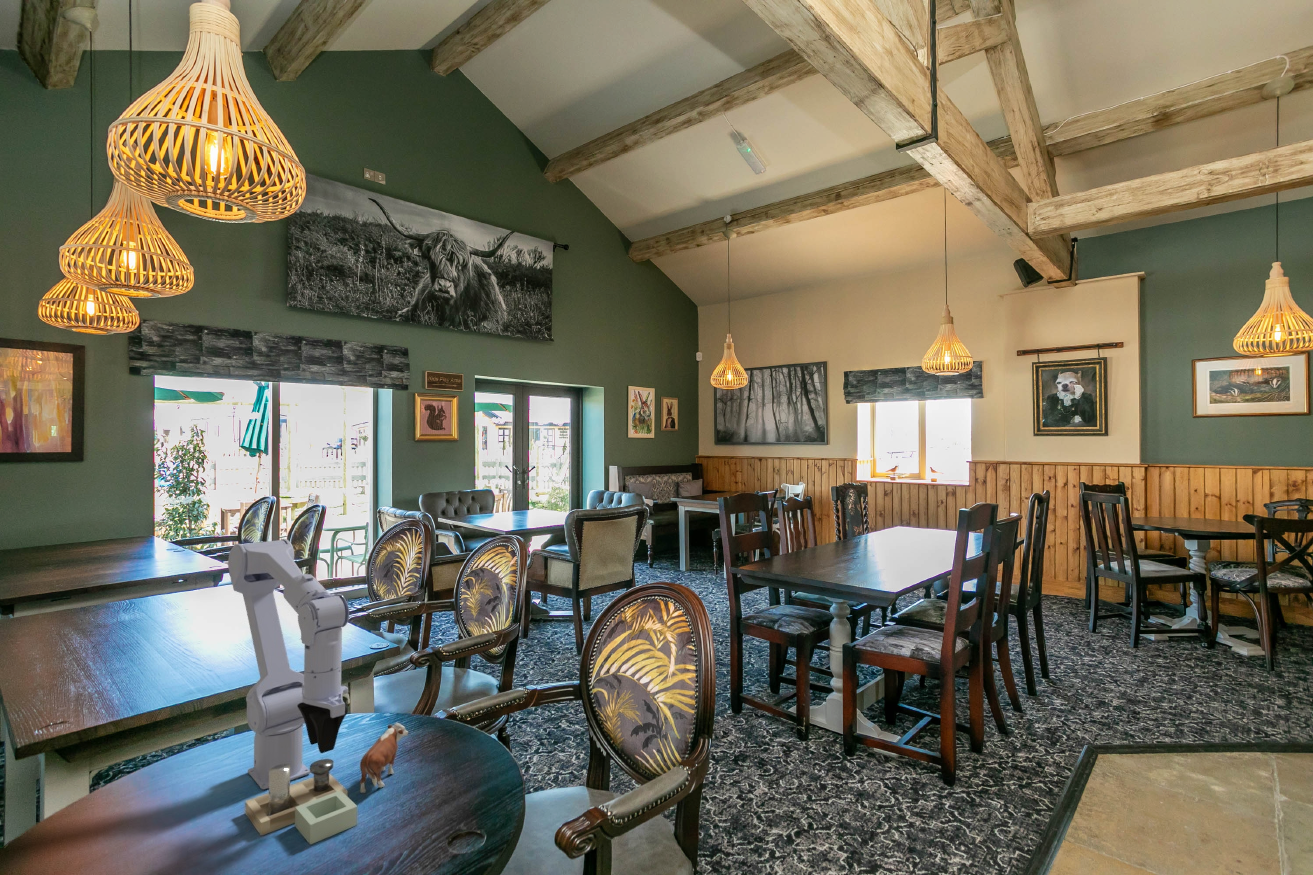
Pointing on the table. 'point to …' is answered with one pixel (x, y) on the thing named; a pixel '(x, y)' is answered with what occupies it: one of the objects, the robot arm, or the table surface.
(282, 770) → the silver metal cylinder
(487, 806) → the table surface
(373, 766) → the bull figurine
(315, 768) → the round dark knob
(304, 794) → the socket block
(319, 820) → the grey-green hollow square block
